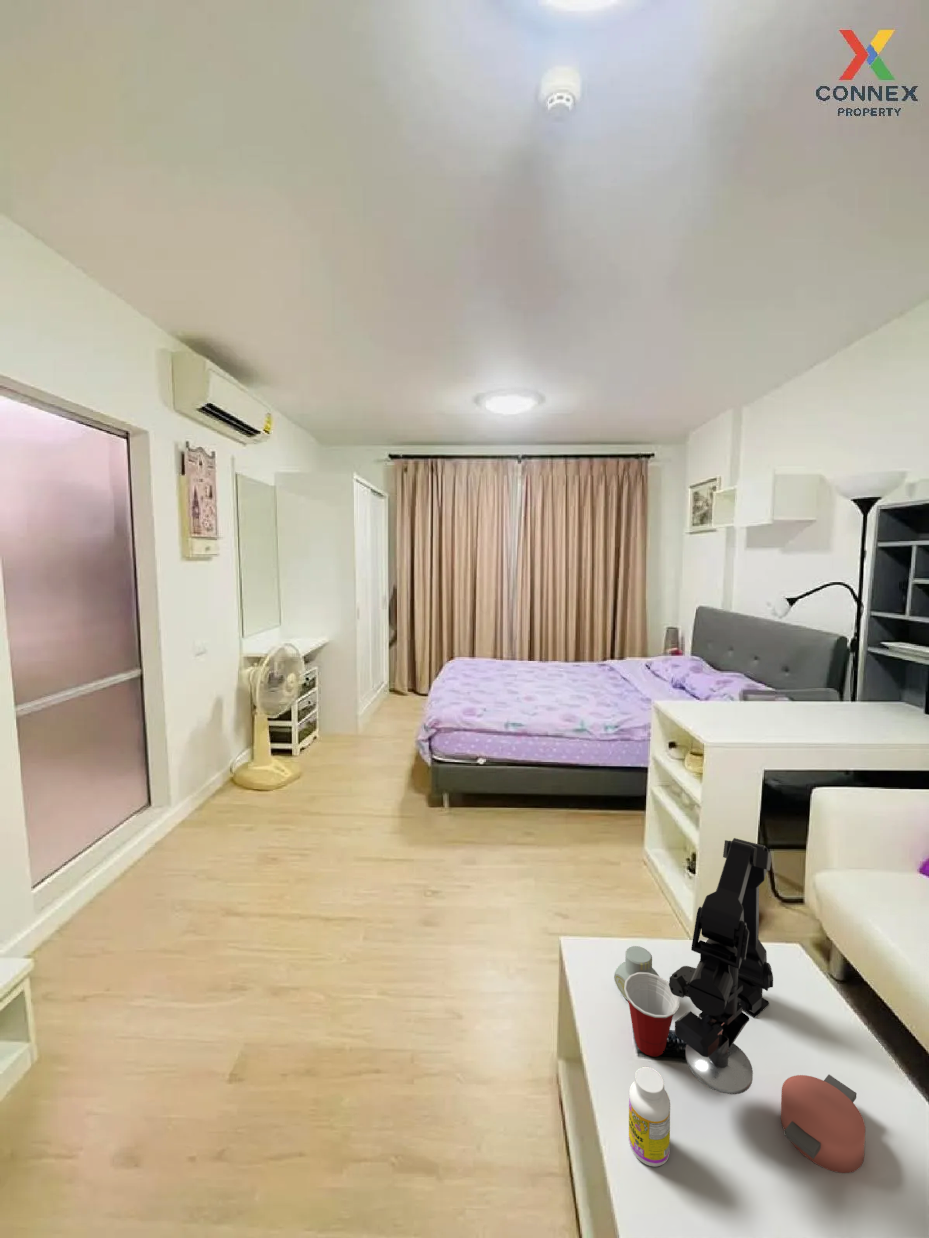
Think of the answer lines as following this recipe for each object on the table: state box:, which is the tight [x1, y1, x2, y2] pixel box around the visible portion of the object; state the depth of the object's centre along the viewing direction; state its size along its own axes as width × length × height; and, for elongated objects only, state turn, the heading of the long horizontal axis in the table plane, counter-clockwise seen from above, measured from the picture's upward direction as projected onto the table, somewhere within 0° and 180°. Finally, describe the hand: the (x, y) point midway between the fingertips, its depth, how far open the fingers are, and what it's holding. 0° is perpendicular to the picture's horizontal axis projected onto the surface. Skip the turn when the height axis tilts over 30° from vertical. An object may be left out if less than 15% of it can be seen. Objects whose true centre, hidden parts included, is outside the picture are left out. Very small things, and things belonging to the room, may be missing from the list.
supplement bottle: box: [628, 1066, 671, 1167], centre depth 90 cm, size 7×7×13 cm
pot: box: [780, 1074, 866, 1174], centre depth 92 cm, size 17×12×5 cm
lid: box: [685, 1030, 754, 1095], centre depth 96 cm, size 11×11×6 cm
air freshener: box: [613, 945, 660, 1001], centre depth 123 cm, size 11×8×10 cm
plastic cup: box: [624, 972, 680, 1057], centre depth 110 cm, size 11×11×12 cm
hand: (718, 1056), depth 96 cm, fingers closed on lid, 3 cm apart
